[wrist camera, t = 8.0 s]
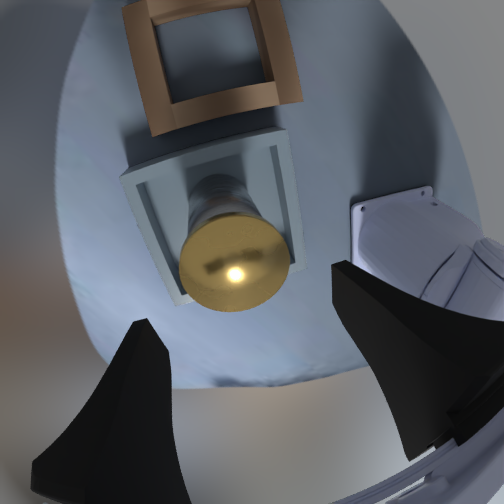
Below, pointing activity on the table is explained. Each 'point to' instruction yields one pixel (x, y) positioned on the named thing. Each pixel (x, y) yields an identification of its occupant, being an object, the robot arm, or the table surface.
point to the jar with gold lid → (230, 248)
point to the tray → (198, 167)
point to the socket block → (219, 103)
